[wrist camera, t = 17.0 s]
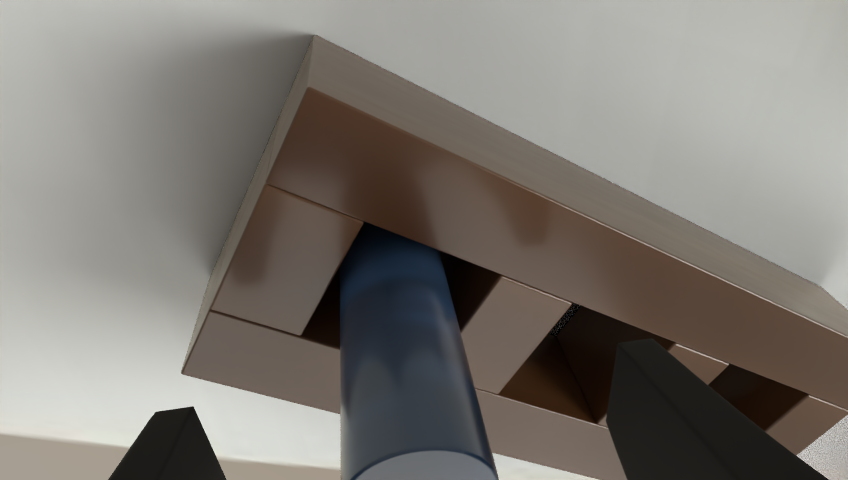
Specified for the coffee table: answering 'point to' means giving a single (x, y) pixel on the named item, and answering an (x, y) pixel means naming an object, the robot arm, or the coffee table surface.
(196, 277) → the coffee table surface
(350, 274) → the peg
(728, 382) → the rack
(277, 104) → the coffee table surface
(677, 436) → the robot arm
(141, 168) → the coffee table surface
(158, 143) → the coffee table surface
